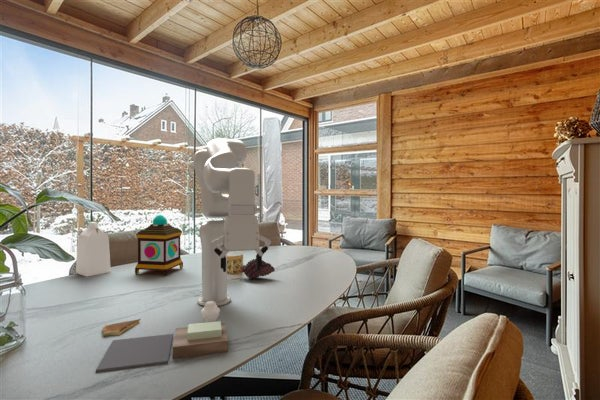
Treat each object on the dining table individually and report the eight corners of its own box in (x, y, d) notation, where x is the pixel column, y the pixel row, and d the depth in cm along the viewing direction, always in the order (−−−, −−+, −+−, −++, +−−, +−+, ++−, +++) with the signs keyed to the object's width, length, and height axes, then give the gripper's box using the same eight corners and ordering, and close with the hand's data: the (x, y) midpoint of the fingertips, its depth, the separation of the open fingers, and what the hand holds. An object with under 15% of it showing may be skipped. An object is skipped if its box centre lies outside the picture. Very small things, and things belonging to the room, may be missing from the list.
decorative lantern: (153, 266, 185) (153, 213, 184) (186, 267, 183) (186, 213, 182) (130, 275, 166) (130, 215, 165) (167, 277, 163) (167, 216, 162)
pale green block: (187, 340, 89) (187, 333, 89) (188, 331, 95) (188, 324, 95) (221, 336, 92) (221, 329, 92) (220, 327, 97) (220, 321, 97)
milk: (75, 272, 169) (75, 222, 168) (99, 268, 179) (99, 220, 178) (86, 276, 162) (86, 224, 161) (110, 271, 172) (110, 222, 171)
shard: (140, 323, 109) (140, 317, 108) (144, 331, 102) (144, 325, 102) (102, 330, 103) (102, 324, 103) (103, 339, 96) (103, 333, 96)
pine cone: (275, 276, 166) (275, 257, 166) (273, 282, 156) (273, 261, 156) (240, 275, 167) (241, 256, 167) (236, 281, 157) (236, 260, 157)
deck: (176, 338, 97) (176, 328, 97) (224, 332, 101) (224, 323, 101) (172, 358, 85) (172, 347, 85) (227, 351, 89) (227, 340, 89)
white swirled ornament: (220, 324, 107) (220, 303, 107) (200, 326, 105) (200, 304, 105) (219, 317, 113) (219, 297, 113) (200, 319, 111) (200, 298, 111)
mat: (113, 342, 94) (113, 340, 94) (173, 335, 98) (173, 333, 98) (95, 372, 78) (95, 369, 78) (167, 362, 83) (167, 360, 83)
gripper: (268, 210, 101) (268, 265, 101) (210, 210, 96) (210, 268, 97) (273, 211, 94) (273, 271, 94) (210, 212, 89) (210, 275, 89)
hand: (241, 269), depth 95 cm, fingers open, 9 cm apart
